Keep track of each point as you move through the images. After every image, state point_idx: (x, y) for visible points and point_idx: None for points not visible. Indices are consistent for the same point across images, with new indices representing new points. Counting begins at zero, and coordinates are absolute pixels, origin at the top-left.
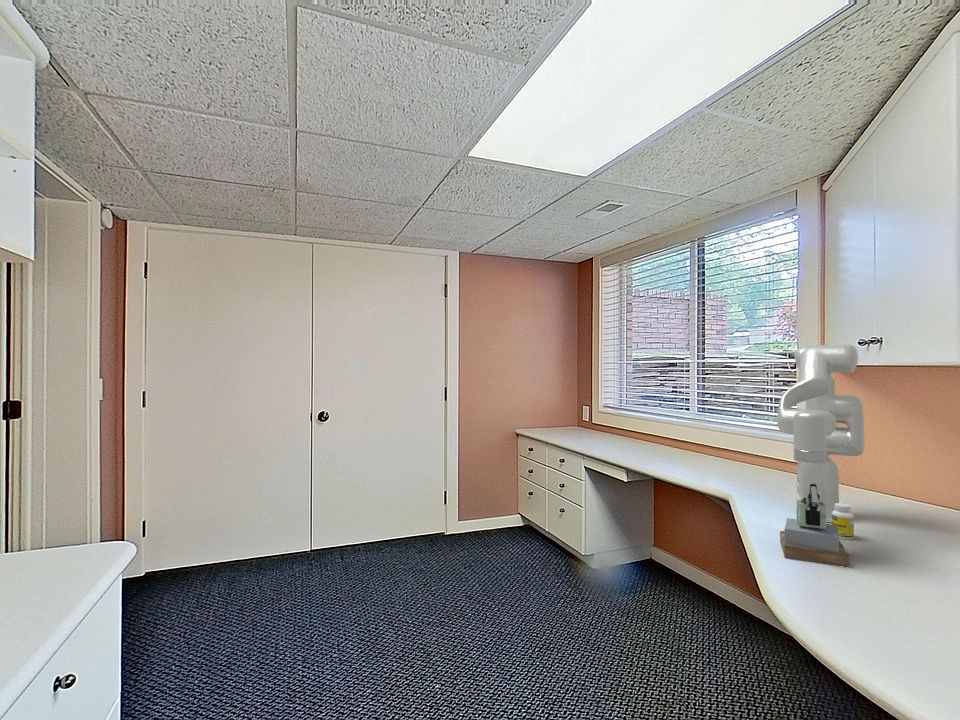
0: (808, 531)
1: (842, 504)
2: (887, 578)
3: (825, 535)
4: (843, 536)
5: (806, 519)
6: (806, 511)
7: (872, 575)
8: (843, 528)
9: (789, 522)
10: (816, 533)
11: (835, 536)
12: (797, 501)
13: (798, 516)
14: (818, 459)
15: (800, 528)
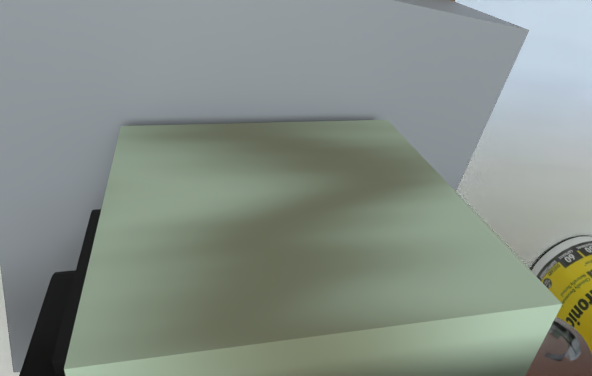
0: (41, 184)
1: None
2: (7, 371)
3: (5, 299)
4: (539, 276)
5: (83, 248)
6: (56, 343)
7: (5, 332)
8: (566, 307)
9: (344, 30)
10: (7, 244)
11: (21, 356)
12: (396, 310)
13: (236, 167)
14: None
15: (124, 120)
